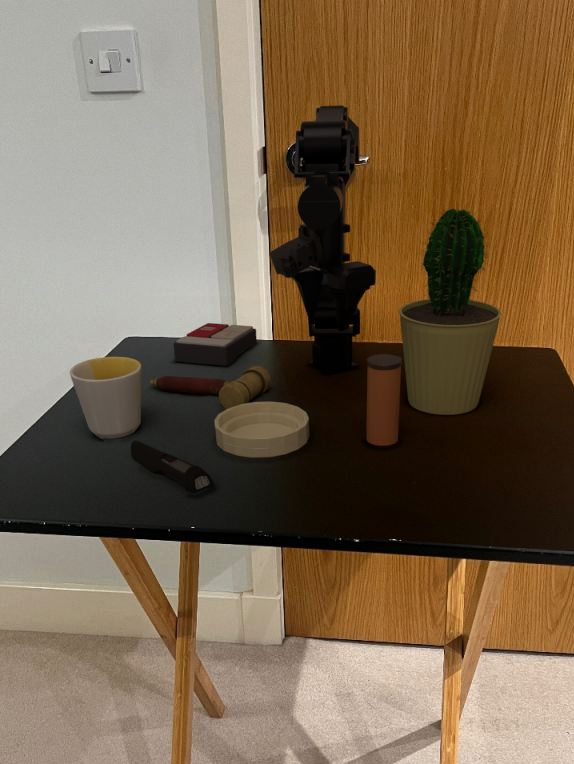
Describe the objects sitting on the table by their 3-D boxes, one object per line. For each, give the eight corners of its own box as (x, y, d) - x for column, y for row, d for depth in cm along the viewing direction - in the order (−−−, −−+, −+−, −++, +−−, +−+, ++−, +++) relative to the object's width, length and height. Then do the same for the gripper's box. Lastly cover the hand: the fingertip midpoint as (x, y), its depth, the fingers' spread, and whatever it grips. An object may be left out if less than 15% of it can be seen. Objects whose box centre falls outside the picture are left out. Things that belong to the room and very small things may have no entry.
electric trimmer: (148, 455, 109) (145, 434, 108) (216, 487, 100) (214, 466, 98) (126, 463, 107) (122, 443, 106) (193, 498, 97) (190, 476, 96)
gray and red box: (256, 324, 151) (225, 343, 139) (257, 346, 153) (227, 366, 141) (206, 321, 154) (172, 338, 142) (208, 342, 156) (174, 361, 144)
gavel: (131, 379, 127) (163, 360, 135) (136, 405, 129) (168, 385, 137) (241, 386, 119) (269, 366, 126) (245, 413, 121) (272, 392, 129)
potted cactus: (378, 408, 122) (384, 209, 106) (420, 378, 133) (430, 194, 118) (468, 427, 114) (489, 216, 99) (505, 394, 125) (528, 200, 110)
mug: (120, 452, 110) (109, 383, 105) (67, 439, 114) (54, 373, 109) (176, 418, 120) (169, 354, 115) (126, 408, 125) (116, 346, 119)
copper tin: (374, 433, 113) (376, 352, 107) (403, 439, 111) (407, 356, 105) (359, 445, 110) (360, 362, 104) (390, 451, 108) (393, 367, 101)
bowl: (280, 415, 120) (279, 395, 118) (326, 446, 110) (326, 424, 108) (201, 435, 114) (199, 413, 113) (241, 470, 104) (240, 447, 102)
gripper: (246, 215, 114) (252, 318, 122) (309, 233, 100) (312, 348, 108) (310, 207, 119) (312, 307, 127) (379, 223, 105) (376, 334, 112)
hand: (326, 323), depth 118 cm, fingers open, 9 cm apart
